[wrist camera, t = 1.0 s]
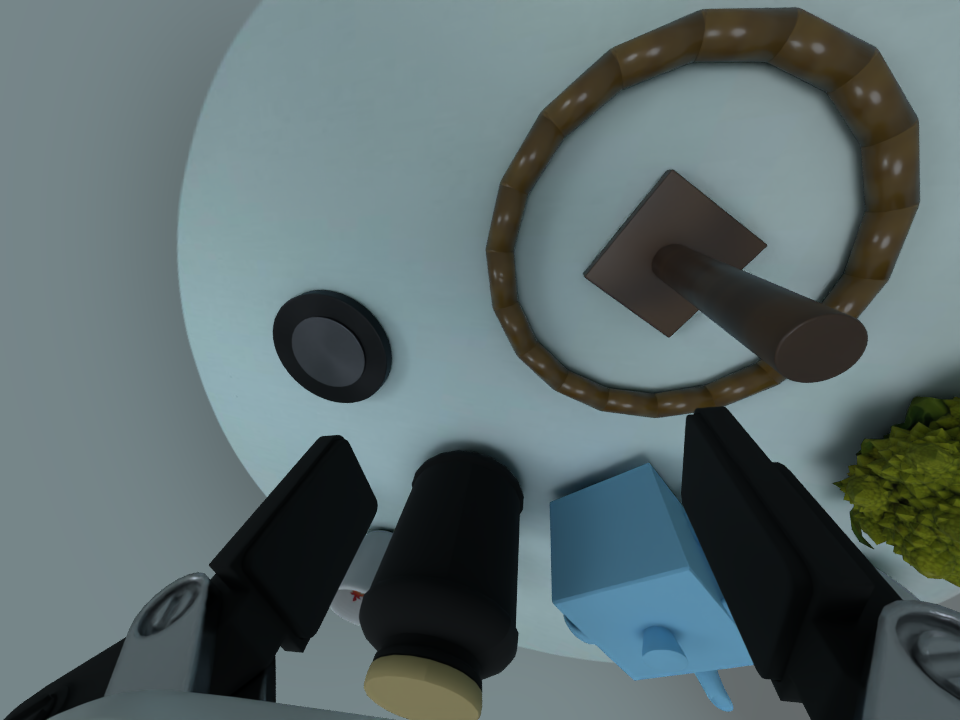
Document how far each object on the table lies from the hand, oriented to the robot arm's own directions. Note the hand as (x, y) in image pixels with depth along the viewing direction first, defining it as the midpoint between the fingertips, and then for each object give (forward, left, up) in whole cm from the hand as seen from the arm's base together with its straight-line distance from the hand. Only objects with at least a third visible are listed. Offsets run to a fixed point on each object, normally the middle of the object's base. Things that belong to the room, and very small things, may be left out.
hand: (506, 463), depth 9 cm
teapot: (+25, -14, -19) cm, 34 cm away
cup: (+4, -38, -19) cm, 43 cm away
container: (+8, -21, -19) cm, 29 cm away
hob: (-11, -15, -19) cm, 27 cm away
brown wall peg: (+7, +7, -19) cm, 21 cm away
